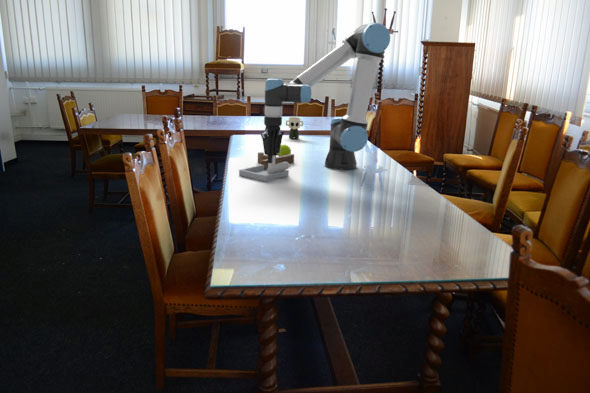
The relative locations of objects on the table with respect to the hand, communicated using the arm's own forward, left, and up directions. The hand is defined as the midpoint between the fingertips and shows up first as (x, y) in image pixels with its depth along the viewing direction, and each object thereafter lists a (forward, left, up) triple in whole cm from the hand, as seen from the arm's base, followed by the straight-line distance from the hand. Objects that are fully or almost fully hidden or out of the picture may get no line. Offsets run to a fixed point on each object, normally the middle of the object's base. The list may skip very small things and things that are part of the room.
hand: (271, 169), depth 210 cm
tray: (-1, +6, -2) cm, 6 cm away
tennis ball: (+16, -29, -2) cm, 33 cm away
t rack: (+12, -14, -1) cm, 19 cm away
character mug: (+49, -81, -2) cm, 94 cm away
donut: (-2, 0, 0) cm, 2 cm away
